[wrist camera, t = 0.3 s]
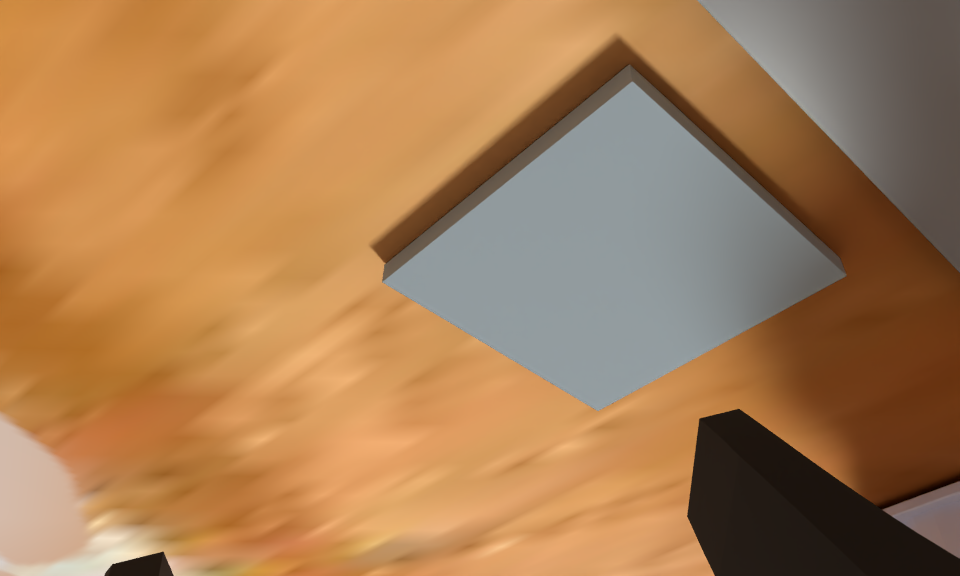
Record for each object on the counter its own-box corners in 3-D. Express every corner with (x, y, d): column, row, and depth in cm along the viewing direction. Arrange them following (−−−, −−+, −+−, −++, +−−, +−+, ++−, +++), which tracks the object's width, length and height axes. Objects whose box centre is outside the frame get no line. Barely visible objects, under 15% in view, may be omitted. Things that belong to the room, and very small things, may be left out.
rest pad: (840, 258, 21) (846, 275, 21) (596, 394, 25) (598, 410, 25) (629, 64, 17) (632, 81, 17) (384, 264, 21) (382, 282, 21)
